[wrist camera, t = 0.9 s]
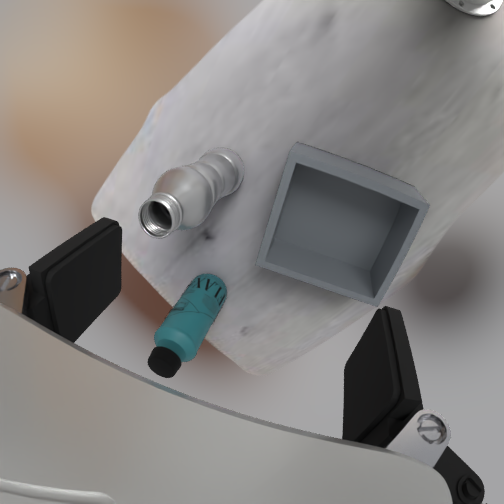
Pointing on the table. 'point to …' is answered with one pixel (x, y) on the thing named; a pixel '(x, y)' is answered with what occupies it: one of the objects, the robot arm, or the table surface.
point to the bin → (340, 224)
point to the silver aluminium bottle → (190, 192)
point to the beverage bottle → (187, 324)
